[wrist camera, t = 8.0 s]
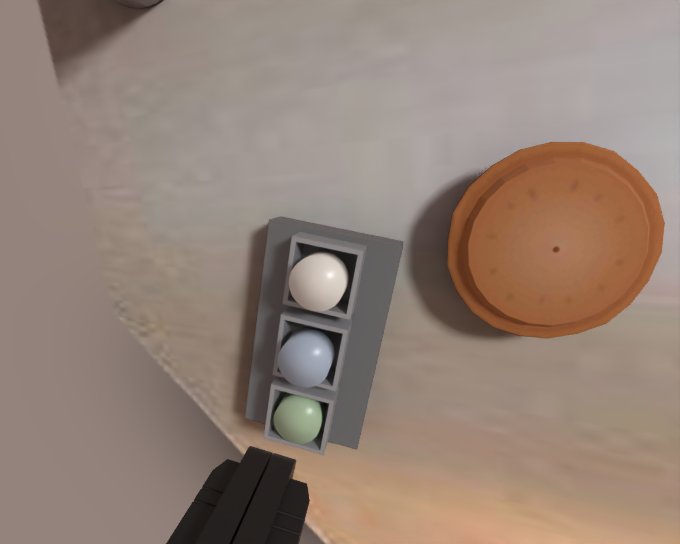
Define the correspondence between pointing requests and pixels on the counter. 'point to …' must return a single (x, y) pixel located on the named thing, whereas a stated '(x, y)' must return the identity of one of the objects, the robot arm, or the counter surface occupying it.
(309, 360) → the bluegrey button
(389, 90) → the counter surface
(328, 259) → the white button
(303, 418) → the green button
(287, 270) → the button panel
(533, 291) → the pie
